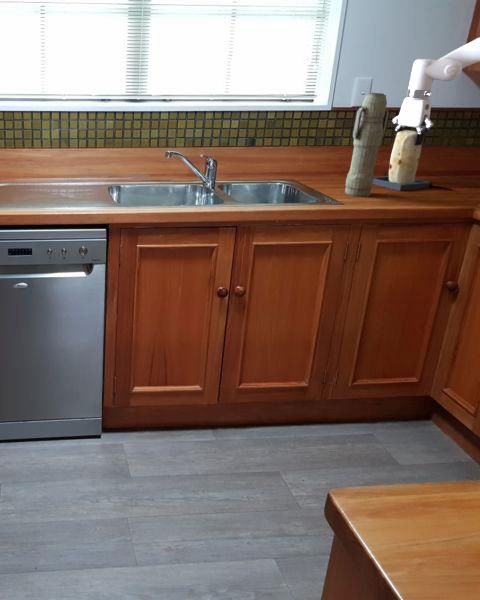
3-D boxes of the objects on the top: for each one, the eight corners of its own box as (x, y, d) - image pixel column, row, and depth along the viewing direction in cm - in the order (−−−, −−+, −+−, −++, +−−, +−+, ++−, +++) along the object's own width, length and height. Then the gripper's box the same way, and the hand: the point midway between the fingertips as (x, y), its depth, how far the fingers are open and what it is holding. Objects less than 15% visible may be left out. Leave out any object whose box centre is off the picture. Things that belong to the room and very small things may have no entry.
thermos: (379, 195, 221) (400, 94, 207) (353, 197, 217) (373, 94, 203) (360, 190, 228) (379, 92, 215) (335, 192, 224) (353, 92, 211)
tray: (428, 188, 234) (430, 182, 233) (399, 191, 228) (401, 185, 227) (396, 180, 246) (397, 175, 245) (368, 183, 240) (369, 177, 239)
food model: (413, 183, 237) (425, 130, 229) (413, 186, 232) (425, 132, 224) (385, 180, 241) (396, 129, 234) (385, 184, 236) (396, 131, 228)
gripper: (446, 96, 218) (434, 146, 225) (405, 93, 233) (395, 139, 239) (432, 97, 215) (420, 147, 222) (391, 93, 230) (381, 140, 237)
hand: (407, 143), depth 231 cm, fingers closed on food model, 8 cm apart
